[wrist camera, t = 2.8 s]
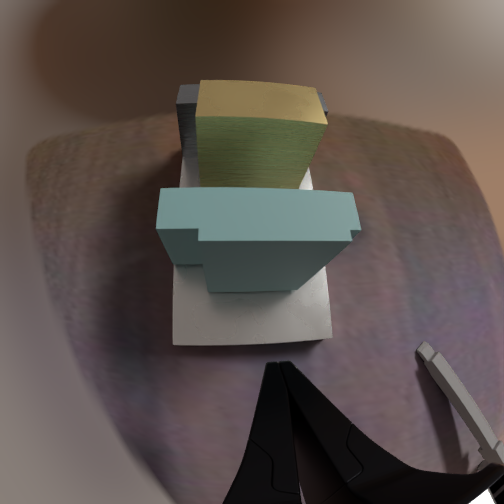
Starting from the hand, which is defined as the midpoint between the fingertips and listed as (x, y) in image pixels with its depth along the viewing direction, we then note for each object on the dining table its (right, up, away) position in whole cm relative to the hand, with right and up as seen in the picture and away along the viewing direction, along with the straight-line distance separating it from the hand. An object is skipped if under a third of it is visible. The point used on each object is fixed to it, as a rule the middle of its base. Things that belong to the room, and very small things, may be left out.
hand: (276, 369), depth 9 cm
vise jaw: (-1, +4, +7) cm, 8 cm away
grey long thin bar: (+17, -11, +6) cm, 21 cm away
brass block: (-1, +9, +9) cm, 13 cm away
